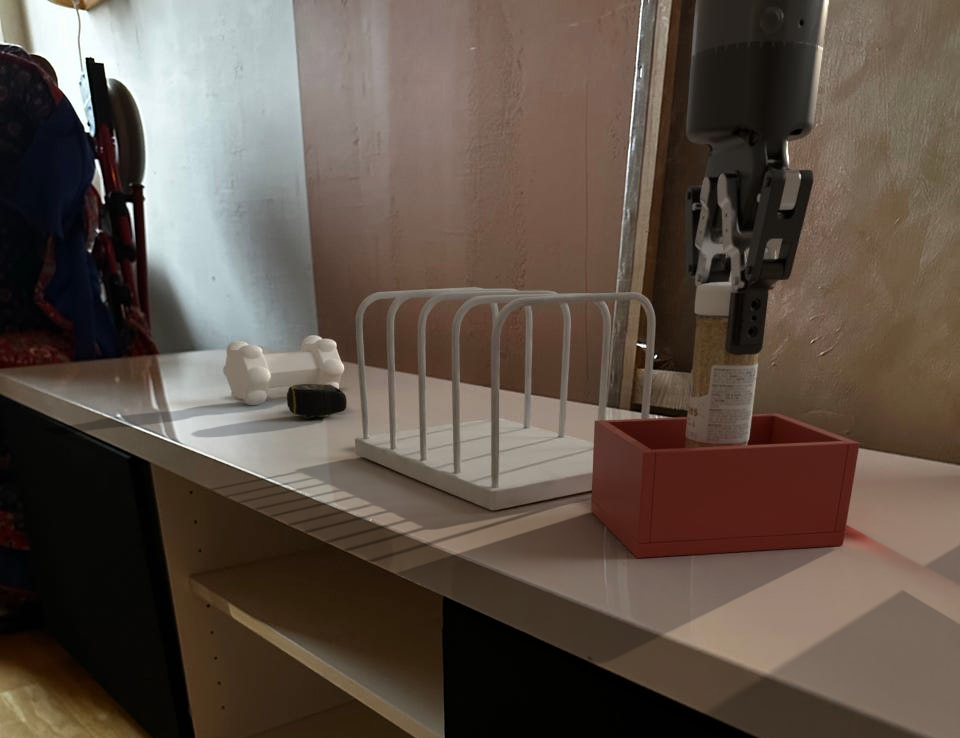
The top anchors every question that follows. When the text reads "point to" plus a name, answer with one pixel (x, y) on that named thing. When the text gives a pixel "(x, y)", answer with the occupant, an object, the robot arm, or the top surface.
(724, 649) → the top surface
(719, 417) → the sprinkles bottle
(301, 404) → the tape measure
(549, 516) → the top surface
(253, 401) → the bone shaped toy
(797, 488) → the red storage bin
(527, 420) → the file sorter
